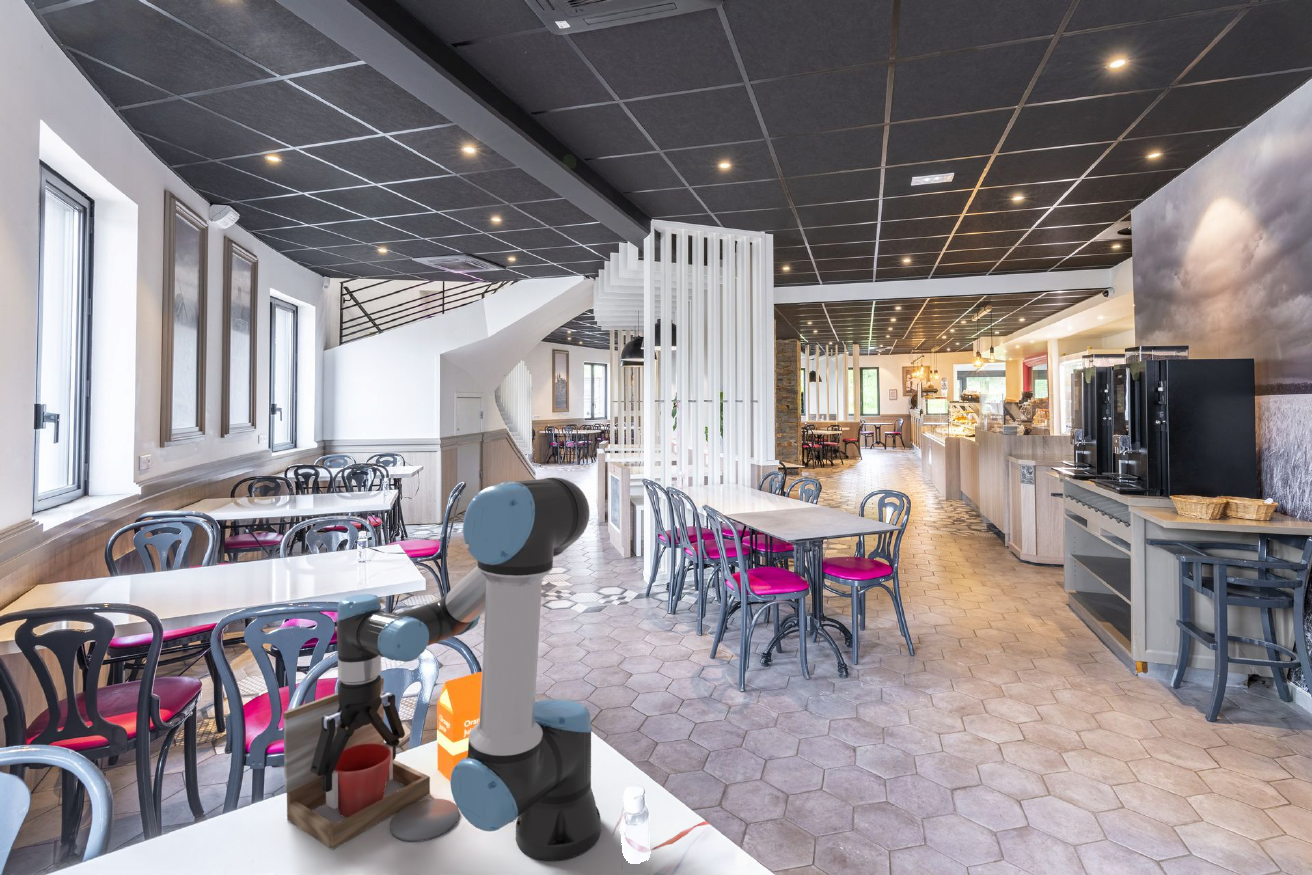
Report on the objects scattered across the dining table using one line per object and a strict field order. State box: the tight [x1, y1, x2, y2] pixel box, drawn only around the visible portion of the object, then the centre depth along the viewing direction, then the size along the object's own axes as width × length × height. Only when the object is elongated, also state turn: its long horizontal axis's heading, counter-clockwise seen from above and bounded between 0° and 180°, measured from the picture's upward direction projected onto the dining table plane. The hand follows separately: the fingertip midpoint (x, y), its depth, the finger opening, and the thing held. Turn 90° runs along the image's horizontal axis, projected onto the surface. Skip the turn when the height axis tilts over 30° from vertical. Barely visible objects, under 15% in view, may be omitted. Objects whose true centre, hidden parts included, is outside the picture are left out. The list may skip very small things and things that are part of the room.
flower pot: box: [334, 743, 391, 818], centre depth 125 cm, size 11×11×10 cm
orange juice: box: [436, 671, 482, 782], centre depth 138 cm, size 8×9×20 cm
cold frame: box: [282, 676, 431, 850], centre depth 125 cm, size 17×20×20 cm
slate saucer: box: [389, 798, 460, 843], centre depth 121 cm, size 12×12×1 cm
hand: (360, 790), depth 125 cm, fingers closed on flower pot, 11 cm apart
